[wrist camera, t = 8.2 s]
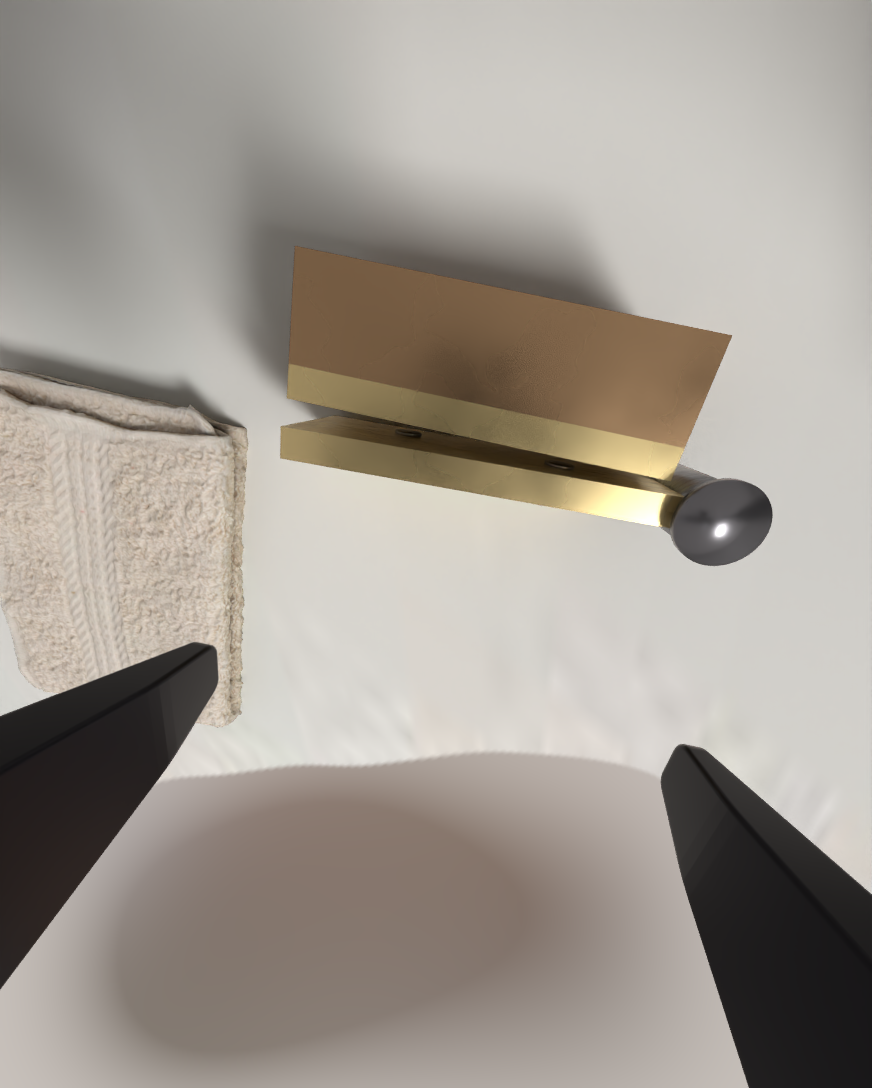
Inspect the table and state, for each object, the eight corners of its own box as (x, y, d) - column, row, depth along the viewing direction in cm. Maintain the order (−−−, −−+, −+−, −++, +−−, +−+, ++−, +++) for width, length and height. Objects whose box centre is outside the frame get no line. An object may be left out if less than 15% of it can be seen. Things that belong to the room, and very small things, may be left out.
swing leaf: (694, 457, 16) (789, 489, 11) (670, 517, 17) (748, 572, 12) (336, 395, 17) (273, 399, 12) (332, 457, 18) (272, 486, 13)
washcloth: (257, 410, 18) (215, 414, 16) (253, 711, 25) (223, 752, 22) (10, 360, 19) (-76, 355, 16) (71, 669, 26) (18, 704, 23)
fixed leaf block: (657, 350, 15) (732, 335, 11) (619, 454, 17) (670, 481, 12) (350, 287, 16) (295, 245, 11) (339, 394, 17) (286, 398, 13)
